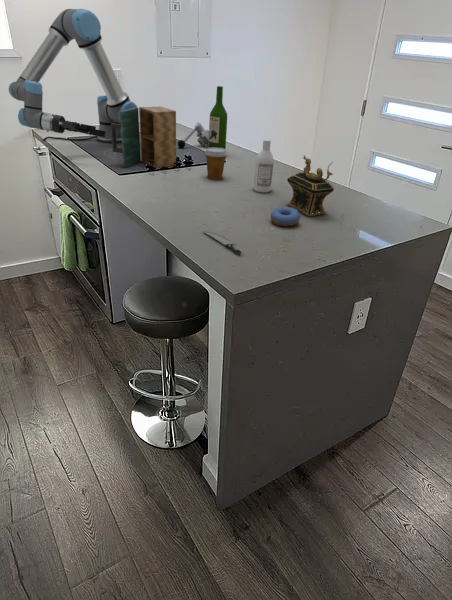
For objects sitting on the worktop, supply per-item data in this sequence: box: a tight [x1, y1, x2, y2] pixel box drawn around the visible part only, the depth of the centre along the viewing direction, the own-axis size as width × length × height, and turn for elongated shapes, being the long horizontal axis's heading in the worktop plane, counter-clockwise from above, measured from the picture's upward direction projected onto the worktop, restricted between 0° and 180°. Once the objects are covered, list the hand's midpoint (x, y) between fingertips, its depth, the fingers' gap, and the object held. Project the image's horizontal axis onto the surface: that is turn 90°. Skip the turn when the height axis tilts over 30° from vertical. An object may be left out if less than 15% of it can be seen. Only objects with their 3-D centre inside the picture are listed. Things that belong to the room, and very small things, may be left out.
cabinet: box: [138, 105, 177, 169], centre depth 199 cm, size 11×14×24 cm
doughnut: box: [270, 206, 301, 227], centre depth 147 cm, size 10×10×5 cm
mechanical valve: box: [177, 122, 209, 149], centre depth 239 cm, size 10×18×15 cm
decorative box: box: [286, 155, 335, 217], centre depth 155 cm, size 20×10×20 cm, turn 28°
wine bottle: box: [208, 85, 228, 150], centre depth 218 cm, size 9×9×32 cm
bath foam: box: [253, 138, 274, 194], centre depth 173 cm, size 7×7×20 cm
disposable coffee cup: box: [204, 147, 228, 181], centre depth 187 cm, size 10×10×12 cm
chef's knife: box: [204, 231, 242, 255], centre depth 131 cm, size 19×1×3 cm
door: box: [111, 107, 142, 169], centre depth 196 cm, size 7×14×24 cm, turn 160°
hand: (100, 132), depth 196 cm, fingers open, 13 cm apart
